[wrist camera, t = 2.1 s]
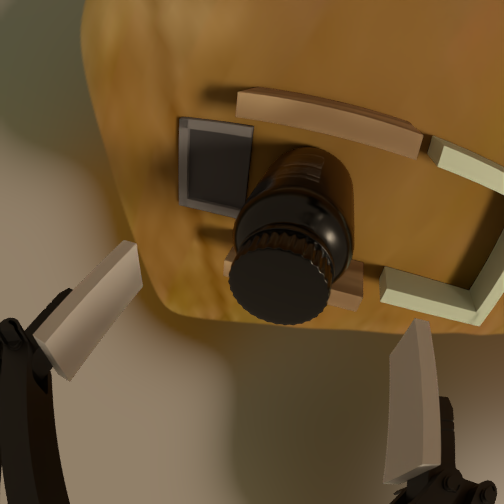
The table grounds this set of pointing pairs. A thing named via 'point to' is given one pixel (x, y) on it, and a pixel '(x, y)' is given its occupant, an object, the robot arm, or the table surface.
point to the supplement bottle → (294, 237)
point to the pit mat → (214, 165)
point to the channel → (336, 124)
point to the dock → (441, 294)
